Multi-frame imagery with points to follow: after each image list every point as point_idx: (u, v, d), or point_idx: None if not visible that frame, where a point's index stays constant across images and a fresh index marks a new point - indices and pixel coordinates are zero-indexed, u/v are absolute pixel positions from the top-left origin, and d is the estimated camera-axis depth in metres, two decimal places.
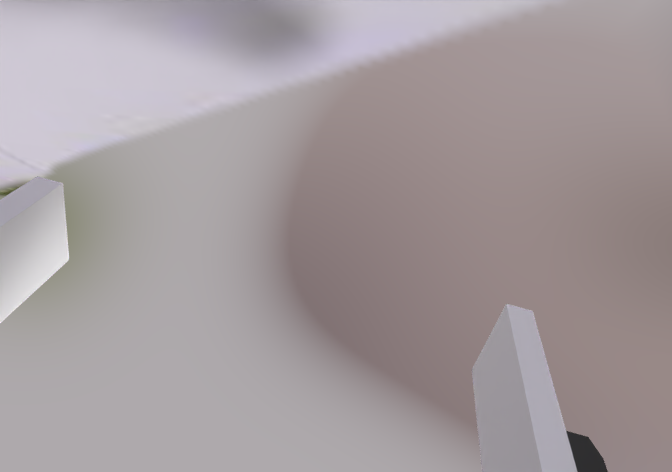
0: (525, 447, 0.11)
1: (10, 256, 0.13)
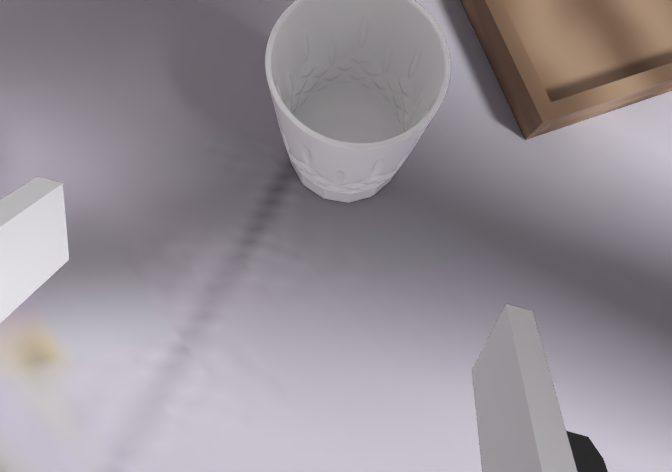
0: (525, 447, 0.11)
1: (10, 256, 0.13)
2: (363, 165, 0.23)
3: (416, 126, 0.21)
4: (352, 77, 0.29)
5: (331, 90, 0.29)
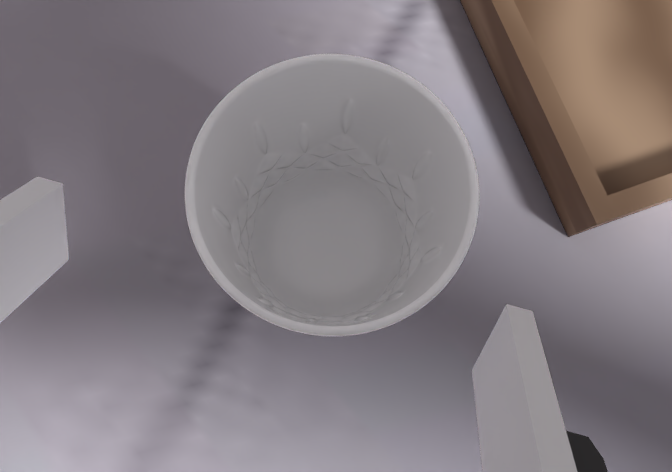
0: (525, 447, 0.11)
1: (10, 256, 0.13)
2: None
3: (425, 297, 0.13)
4: (335, 164, 0.21)
5: (306, 179, 0.22)
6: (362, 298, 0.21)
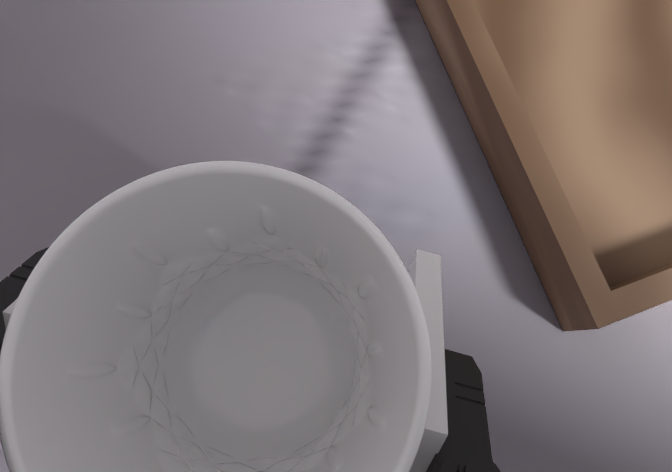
0: None
1: None
2: None
3: None
4: (270, 259, 0.17)
5: (237, 274, 0.17)
6: (305, 428, 0.16)
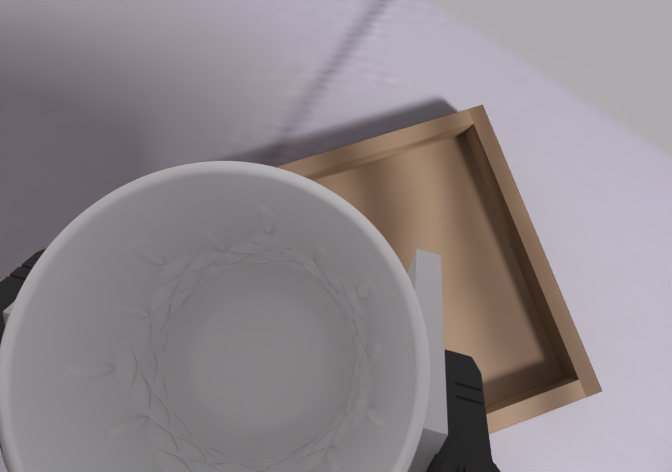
0: None
1: None
2: None
3: None
4: (269, 259, 0.17)
5: (236, 274, 0.17)
6: (304, 428, 0.16)
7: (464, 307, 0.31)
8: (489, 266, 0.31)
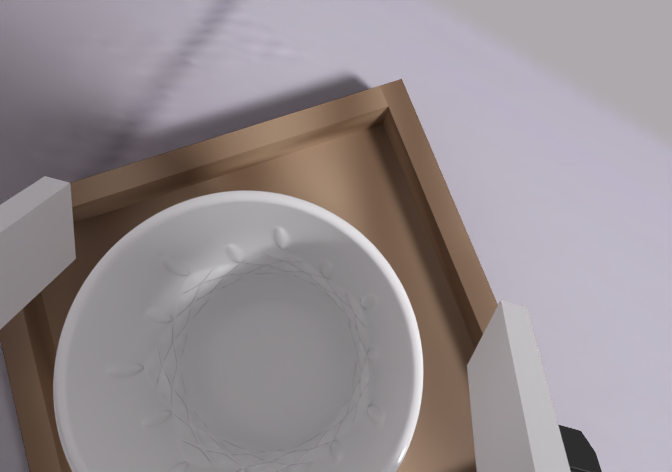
0: (517, 440, 0.11)
1: (19, 255, 0.13)
2: None
3: None
4: (279, 269, 0.18)
5: (249, 282, 0.19)
6: (309, 424, 0.18)
7: None
8: (416, 313, 0.21)
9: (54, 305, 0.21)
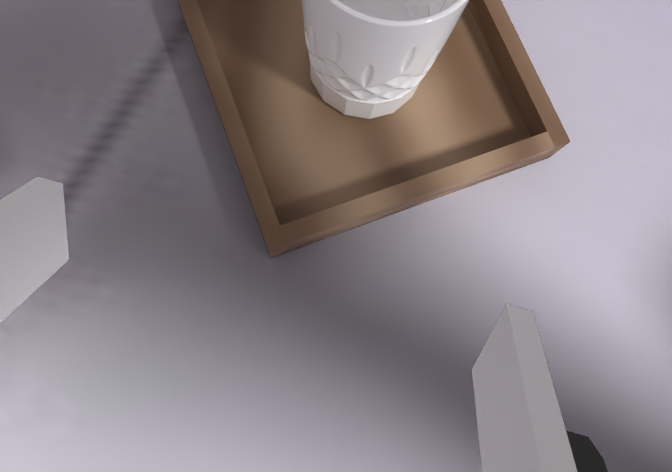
0: (525, 447, 0.11)
1: (10, 256, 0.13)
2: (395, 55, 0.22)
3: (453, 5, 0.20)
4: None
5: (353, 1, 0.29)
6: None
7: (434, 80, 0.31)
8: (457, 44, 0.31)
9: (214, 33, 0.31)
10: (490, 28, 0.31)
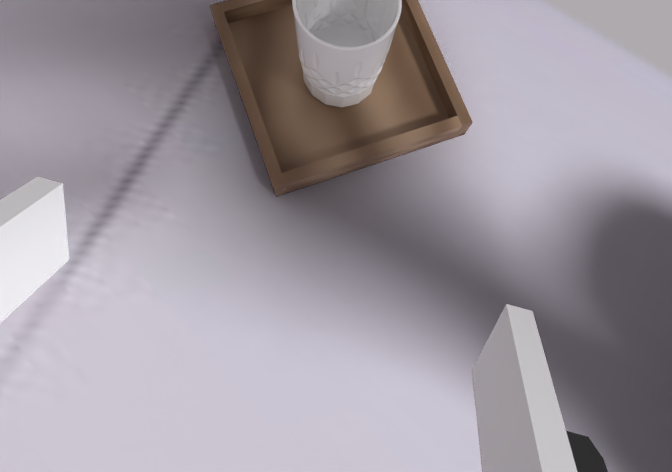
0: (525, 447, 0.11)
1: (10, 256, 0.13)
2: (350, 66, 0.38)
3: (380, 38, 0.36)
4: (345, 21, 0.44)
5: (331, 31, 0.44)
6: None
7: (386, 82, 0.46)
8: (403, 58, 0.47)
9: (241, 51, 0.46)
10: (424, 47, 0.46)
